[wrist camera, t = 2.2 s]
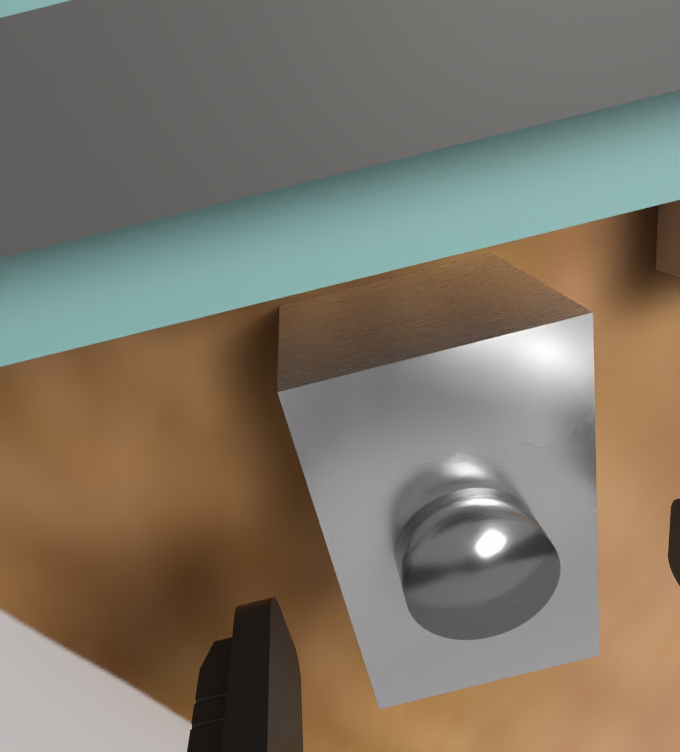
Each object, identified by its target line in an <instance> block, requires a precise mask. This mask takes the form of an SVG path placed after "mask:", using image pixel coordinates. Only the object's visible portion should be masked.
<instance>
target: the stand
mask: <svg viewBox="0 0 680 752" xmlns="http://www.w3.org/2000/svg"><path fill="white" fill-rule="evenodd" d="M677 200H680V0H0V367H2V366H6V365H10V364H14V363H18V362H22V361H26V360H30V359H34V358H38V357H42V356H46V355H51V354H55V353H59V352H63V351H67V350H71V349H75V348H79V347H83V346H87V345H91V344H95V343H99V342H103V341H107V340H112V339H116V338H120V337H124V336H128V335H132V334H136V333H140V332H144V331H148V330H152V329H156V328H160V327H164V326H168V325H172V324H177V323H181V322H185V321H189V320H193V319H197V318H201V317H205V316H209V315H213V314H217V313H221V312H225V311H229V310H233V309H238V308H242V307H246V306H250V305H254V304H258V303H262V302H266V301H270V300H274V299H278V298H282V297H286V296H290V295H294V294H299V293H303V292H307V291H311V290H315V289H319V288H323V287H327V286H331V285H335V284H339V283H343V282H347V281H351V280H355V279H360V278H364V277H368V276H372V275H376V274H380V273H384V272H388V271H392V270H396V269H400V268H404V267H408V266H412V265H416V264H421V263H425V262H429V261H433V260H437V259H441V258H445V257H449V256H453V255H457V254H461V253H465V252H469V251H473V250H477V249H482V248H486V247H490V246H494V245H498V244H502V243H506V242H510V241H514V240H518V239H522V238H526V237H530V236H534V235H538V234H543V233H547V232H551V231H555V230H559V229H563V228H567V227H571V226H575V225H579V224H583V223H587V222H591V221H595V220H599V219H603V218H608V217H612V216H616V215H620V214H624V213H628V212H632V211H636V210H640V209H644V208H648V207H652V206H656V205H660V204H664V203H669V202H673V201H677Z"/></svg>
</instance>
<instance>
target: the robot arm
mask: <svg viewBox="0 0 680 752" xmlns="http://www.w3.org/2000/svg"><path fill="white" fill-rule="evenodd" d="M668 560H669V564H670V568H671V570H672V573H673V575H674V577H675V579H676V581H677V582H678V584H679V585H680V499H676V500H674V501H673V503H672V505H671V517H670V533H669V549H668ZM195 699H196V704H194V711H193V717H192V729H191V730H190V737H189V744H188V750H187V752H303V730H302V701H301V677H300V668H299V662H298V657H297V653H296V649H295V646H294V643H293V641H292V638H291V636H290V633H289V630H288V628H287V625H286V623H285V620H284V618H283V615H282V612H281V610H280V607H279V605H278V602H277V600H276V599H275V598H274V597H272V598H268V599H264V600H260V601H256V602H252V603H248V604H244V605H240V606H237V608H236V610H235V616H234V626H233V636H232V638H227V639H223V640H219V641H215V642H214V643H213V645H212V647H211V649H210V651H209V653H208V655H207V657H206V659H205V660H204V662H203V664H202V666H201V668H200V672H199V678H198V685H197V691H196V698H195Z"/></svg>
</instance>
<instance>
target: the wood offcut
mask: <svg viewBox="0 0 680 752" xmlns="http://www.w3.org/2000/svg"><path fill="white" fill-rule="evenodd" d="M656 270H659V271H662V272H664V273H667V274H670V275H672V276H675V277H678V278H680V200H677V201H673V202H669V203H664V204H660V205H658V229H657V254H656Z"/></svg>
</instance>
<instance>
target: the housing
mask: <svg viewBox="0 0 680 752" xmlns="http://www.w3.org/2000/svg"><path fill="white" fill-rule="evenodd" d="M277 393H278V396H279V399H280V402H281V405H282V408H283V411H284V414H285V417H286V420H287V424H288V427H289V430H290V433H291V436H292V439H293V442H294V445H295V448H296V452H297V455H298V458H299V461H300V464H301V467H302V470H303V473H304V476H305V479H306V483H307V486H308V489H309V492H310V495H311V498H312V501H313V504H314V507H315V511H316V514H317V517H318V520H319V523H320V526H321V529H322V532H323V535H324V538H325V542H326V545H327V548H328V551H329V554H330V557H331V560H332V563H333V566H334V570H335V573H336V576H337V579H338V582H339V585H340V588H341V591H342V594H343V597H344V601H345V604H346V607H347V610H348V613H349V616H350V619H351V622H352V625H353V629H354V632H355V635H356V638H357V641H358V644H359V647H360V650H361V653H362V656H363V660H364V663H365V666H366V669H367V672H368V675H369V678H370V681H371V684H372V688H373V691H374V694H375V697H376V700H377V703H378V706H379V709H383V708H387V707H391V706H395V705H399V704H403V703H407V702H411V701H415V700H419V699H423V698H427V697H432V696H436V695H440V694H444V693H448V692H452V691H456V690H460V689H464V688H468V687H472V686H476V685H480V684H485V683H489V682H493V681H497V680H501V679H505V678H509V677H513V676H517V675H521V674H525V673H529V672H534V671H538V670H542V669H546V668H550V667H554V666H558V665H562V664H566V663H570V662H574V661H578V660H582V659H587V658H591V657H595V656H599V612H598V558H597V503H596V449H595V395H594V340H593V312H591V311H589V310H588V309H586V308H584V307H583V306H581V305H579V304H578V303H576V302H574V301H573V300H571V299H569V298H568V297H566V296H564V295H563V294H561V293H559V292H557V291H556V290H554V289H552V288H551V287H549V286H547V285H546V284H544V283H542V282H541V281H539V280H537V279H536V278H534V277H532V276H530V275H529V274H527V273H525V272H524V271H522V270H520V269H519V268H517V267H515V266H514V265H512V264H510V263H509V262H507V261H505V260H503V259H502V258H500V257H498V256H497V255H495V254H493V253H492V252H490V253H486V254H482V255H478V256H474V257H471V258H467V259H463V260H459V261H455V262H451V263H447V264H443V265H439V266H435V267H431V268H427V269H423V270H420V271H416V272H412V273H408V274H404V275H400V276H396V277H392V278H388V279H384V280H380V281H376V282H373V283H369V284H365V285H361V286H357V287H353V288H349V289H345V290H341V291H337V292H333V293H329V294H325V295H322V296H318V297H314V298H310V299H306V300H302V301H298V302H294V303H290V304H286V305H282V306H279V346H278V388H277Z"/></svg>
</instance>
